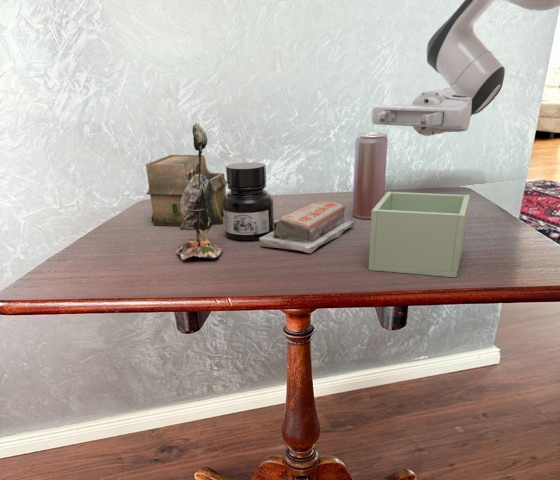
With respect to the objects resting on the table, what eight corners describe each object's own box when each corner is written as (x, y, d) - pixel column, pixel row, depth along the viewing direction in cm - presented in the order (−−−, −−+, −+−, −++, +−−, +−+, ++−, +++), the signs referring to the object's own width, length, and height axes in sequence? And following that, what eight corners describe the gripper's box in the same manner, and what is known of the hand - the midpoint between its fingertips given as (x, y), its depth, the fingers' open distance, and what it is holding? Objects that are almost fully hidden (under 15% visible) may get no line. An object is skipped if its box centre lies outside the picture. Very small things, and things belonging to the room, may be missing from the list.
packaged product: (307, 196, 103) (355, 201, 99) (307, 222, 105) (354, 227, 101) (257, 218, 90) (311, 225, 85) (258, 247, 92) (311, 255, 88)
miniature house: (140, 228, 106) (131, 166, 100) (170, 210, 117) (163, 154, 112) (213, 230, 102) (207, 166, 96) (236, 212, 114) (232, 154, 108)
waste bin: (462, 251, 87) (470, 195, 83) (456, 277, 77) (464, 215, 72) (383, 245, 91) (387, 191, 87) (368, 270, 81) (371, 210, 76)
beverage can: (347, 214, 110) (350, 133, 102) (374, 211, 111) (378, 131, 104) (360, 221, 105) (364, 137, 97) (388, 217, 106) (393, 134, 99)
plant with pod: (229, 242, 95) (220, 117, 85) (217, 263, 85) (205, 125, 75) (184, 243, 96) (169, 118, 86) (167, 263, 86) (148, 126, 76)
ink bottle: (216, 240, 97) (209, 169, 91) (233, 227, 104) (228, 160, 98) (268, 243, 94) (265, 170, 88) (281, 229, 102) (279, 161, 96)
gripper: (389, 96, 121) (357, 100, 112) (479, 97, 110) (452, 102, 101) (387, 126, 125) (356, 133, 115) (475, 131, 114) (448, 139, 104)
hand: (402, 119), depth 108 cm, fingers open, 8 cm apart
